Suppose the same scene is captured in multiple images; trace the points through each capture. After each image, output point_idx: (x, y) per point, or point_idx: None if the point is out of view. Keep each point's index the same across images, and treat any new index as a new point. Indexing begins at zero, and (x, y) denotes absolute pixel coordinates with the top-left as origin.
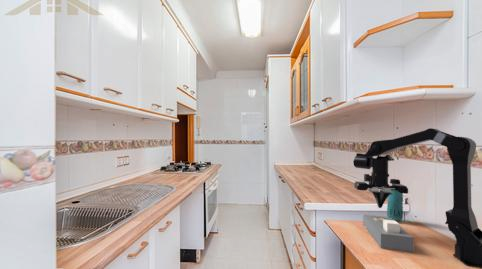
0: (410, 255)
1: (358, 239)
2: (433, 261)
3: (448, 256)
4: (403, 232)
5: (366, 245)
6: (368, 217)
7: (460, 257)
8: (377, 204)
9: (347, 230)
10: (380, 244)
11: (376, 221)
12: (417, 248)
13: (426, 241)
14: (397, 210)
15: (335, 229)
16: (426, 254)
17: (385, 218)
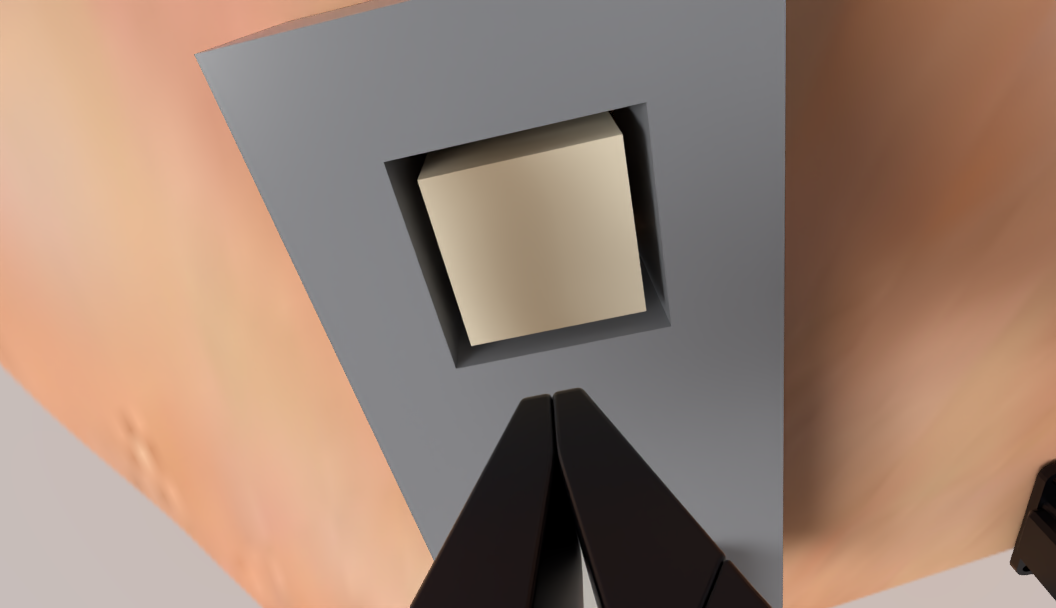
0: None
1: (321, 514)
2: (809, 592)
3: (987, 486)
4: None
5: (397, 579)
6: (339, 250)
7: (1030, 570)
8: (498, 461)
9: (157, 357)
10: None
11: (477, 402)
12: (804, 457)
13: (1026, 237)
14: None
15: (32, 395)
16: (820, 525)
17: (669, 126)
